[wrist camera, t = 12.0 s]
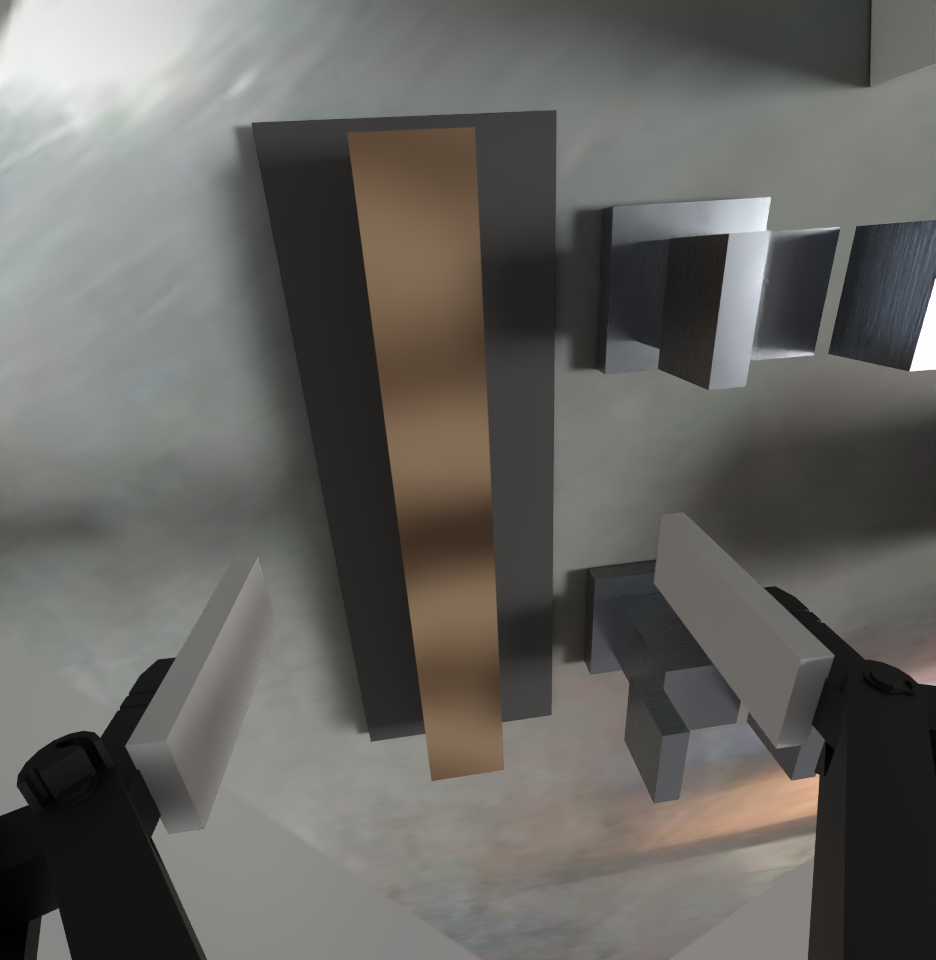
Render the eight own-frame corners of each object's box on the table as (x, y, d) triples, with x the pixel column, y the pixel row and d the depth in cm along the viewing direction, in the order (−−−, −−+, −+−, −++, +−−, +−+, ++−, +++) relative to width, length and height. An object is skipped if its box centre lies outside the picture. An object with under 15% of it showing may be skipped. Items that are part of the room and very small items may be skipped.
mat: (256, 127, 17) (251, 122, 16) (551, 115, 18) (556, 110, 17) (371, 732, 28) (370, 741, 28) (548, 706, 29) (551, 714, 28)
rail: (357, 156, 17) (347, 132, 14) (460, 151, 17) (475, 127, 14) (428, 720, 27) (431, 780, 24) (492, 711, 28) (504, 769, 25)
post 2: (582, 569, 25) (666, 711, 17) (707, 554, 26) (844, 684, 18) (579, 661, 28) (651, 823, 20) (693, 645, 28) (808, 796, 20)
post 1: (595, 209, 19) (737, 172, 11) (760, 199, 20) (1010, 157, 12) (589, 369, 21) (702, 434, 13) (737, 356, 22) (930, 411, 14)
